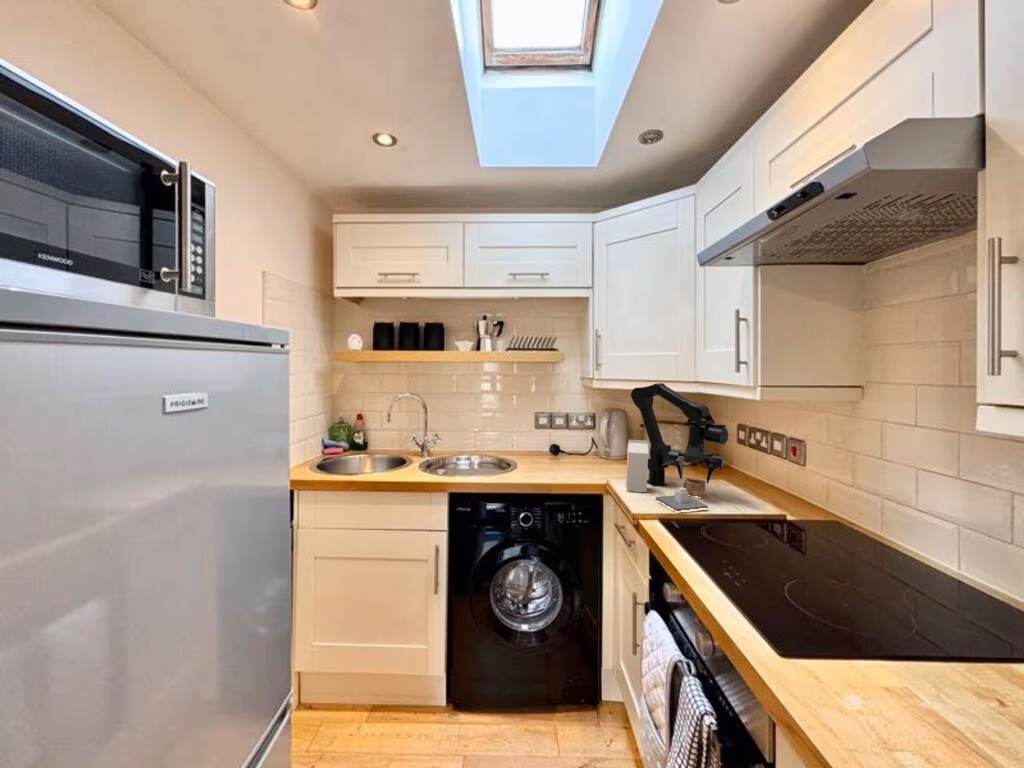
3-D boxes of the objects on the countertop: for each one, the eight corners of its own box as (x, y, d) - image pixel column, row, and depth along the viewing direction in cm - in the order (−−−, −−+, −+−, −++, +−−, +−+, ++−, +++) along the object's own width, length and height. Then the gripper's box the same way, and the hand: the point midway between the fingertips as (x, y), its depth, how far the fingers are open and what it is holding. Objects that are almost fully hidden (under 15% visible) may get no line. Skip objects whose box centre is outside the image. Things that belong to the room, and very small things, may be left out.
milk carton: (646, 493, 170) (648, 442, 168) (626, 491, 171) (628, 441, 169) (644, 487, 177) (647, 438, 175) (625, 485, 178) (627, 437, 176)
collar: (682, 495, 169) (683, 481, 168) (686, 490, 174) (687, 477, 173) (700, 498, 165) (701, 485, 165) (704, 494, 170) (705, 480, 170)
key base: (655, 501, 162) (656, 484, 161) (684, 498, 165) (685, 482, 164) (676, 513, 150) (677, 495, 150) (707, 510, 153) (708, 492, 153)
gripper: (664, 439, 166) (662, 481, 168) (720, 446, 156) (717, 491, 157) (672, 434, 175) (670, 474, 177) (725, 441, 165) (723, 483, 166)
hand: (694, 480), depth 169 cm, fingers open, 9 cm apart
